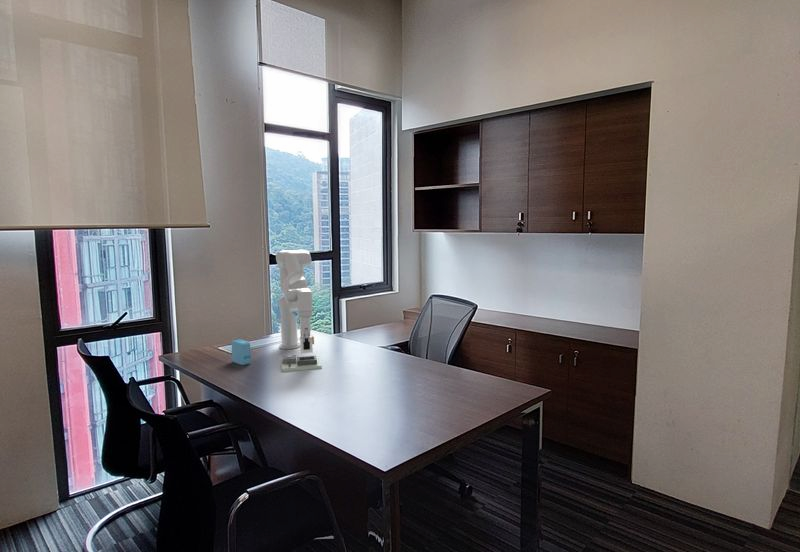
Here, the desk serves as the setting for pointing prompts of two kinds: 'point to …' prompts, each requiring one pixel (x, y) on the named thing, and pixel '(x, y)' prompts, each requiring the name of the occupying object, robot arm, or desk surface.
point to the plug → (311, 340)
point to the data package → (241, 352)
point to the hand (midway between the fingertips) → (306, 348)
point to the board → (300, 363)
